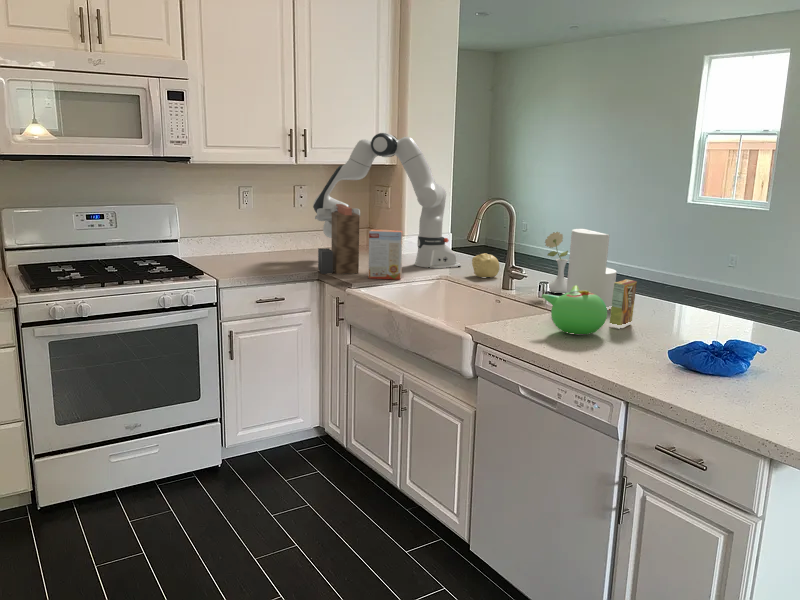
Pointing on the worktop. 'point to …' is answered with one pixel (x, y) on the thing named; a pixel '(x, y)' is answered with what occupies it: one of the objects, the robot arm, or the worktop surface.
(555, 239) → the flower in vase
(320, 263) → the domino
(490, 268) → the pale yellow lumpy ball
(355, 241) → the walnut stand
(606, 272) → the cylinder
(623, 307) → the candy box
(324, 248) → the domino
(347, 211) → the bar
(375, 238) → the cracker box
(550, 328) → the worktop surface
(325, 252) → the domino
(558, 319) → the round teapot
